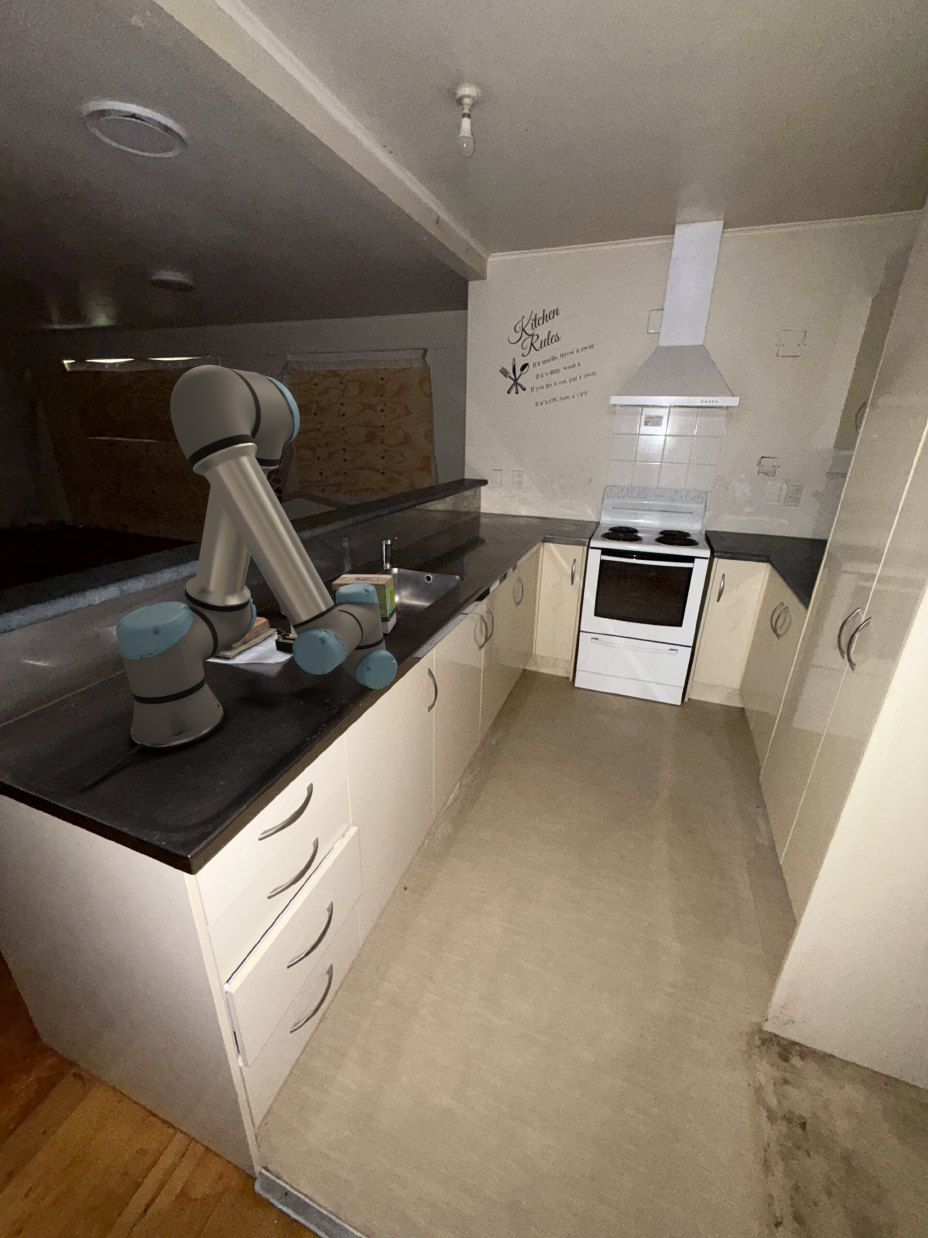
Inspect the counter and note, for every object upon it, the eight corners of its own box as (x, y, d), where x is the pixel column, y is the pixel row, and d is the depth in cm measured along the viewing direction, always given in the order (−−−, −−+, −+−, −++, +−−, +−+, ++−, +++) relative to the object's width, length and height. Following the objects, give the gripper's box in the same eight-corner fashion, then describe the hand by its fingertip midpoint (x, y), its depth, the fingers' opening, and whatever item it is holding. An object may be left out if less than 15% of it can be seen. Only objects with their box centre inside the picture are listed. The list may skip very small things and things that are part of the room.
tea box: (397, 621, 143) (394, 573, 138) (388, 635, 134) (385, 583, 129) (347, 620, 145) (343, 572, 140) (336, 633, 136) (330, 582, 130)
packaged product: (245, 613, 137) (275, 616, 134) (248, 629, 139) (277, 633, 136) (194, 636, 121) (227, 641, 118) (198, 654, 123) (230, 659, 120)
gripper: (289, 683, 95) (256, 654, 111) (398, 652, 110) (355, 630, 126) (284, 647, 93) (251, 623, 109) (396, 621, 108) (352, 602, 123)
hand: (307, 627), depth 117 cm, fingers open, 13 cm apart
